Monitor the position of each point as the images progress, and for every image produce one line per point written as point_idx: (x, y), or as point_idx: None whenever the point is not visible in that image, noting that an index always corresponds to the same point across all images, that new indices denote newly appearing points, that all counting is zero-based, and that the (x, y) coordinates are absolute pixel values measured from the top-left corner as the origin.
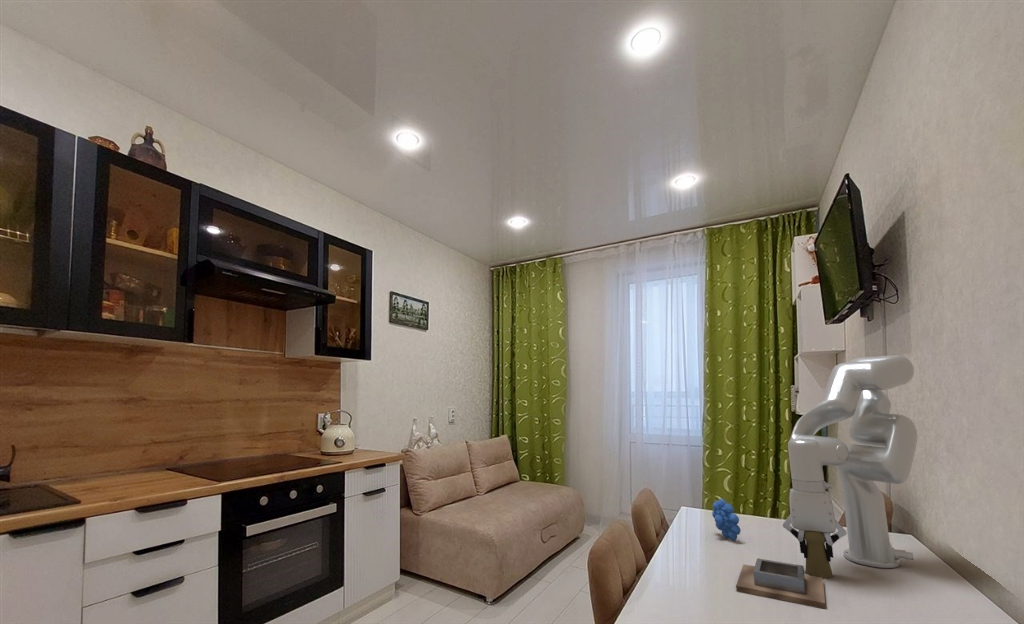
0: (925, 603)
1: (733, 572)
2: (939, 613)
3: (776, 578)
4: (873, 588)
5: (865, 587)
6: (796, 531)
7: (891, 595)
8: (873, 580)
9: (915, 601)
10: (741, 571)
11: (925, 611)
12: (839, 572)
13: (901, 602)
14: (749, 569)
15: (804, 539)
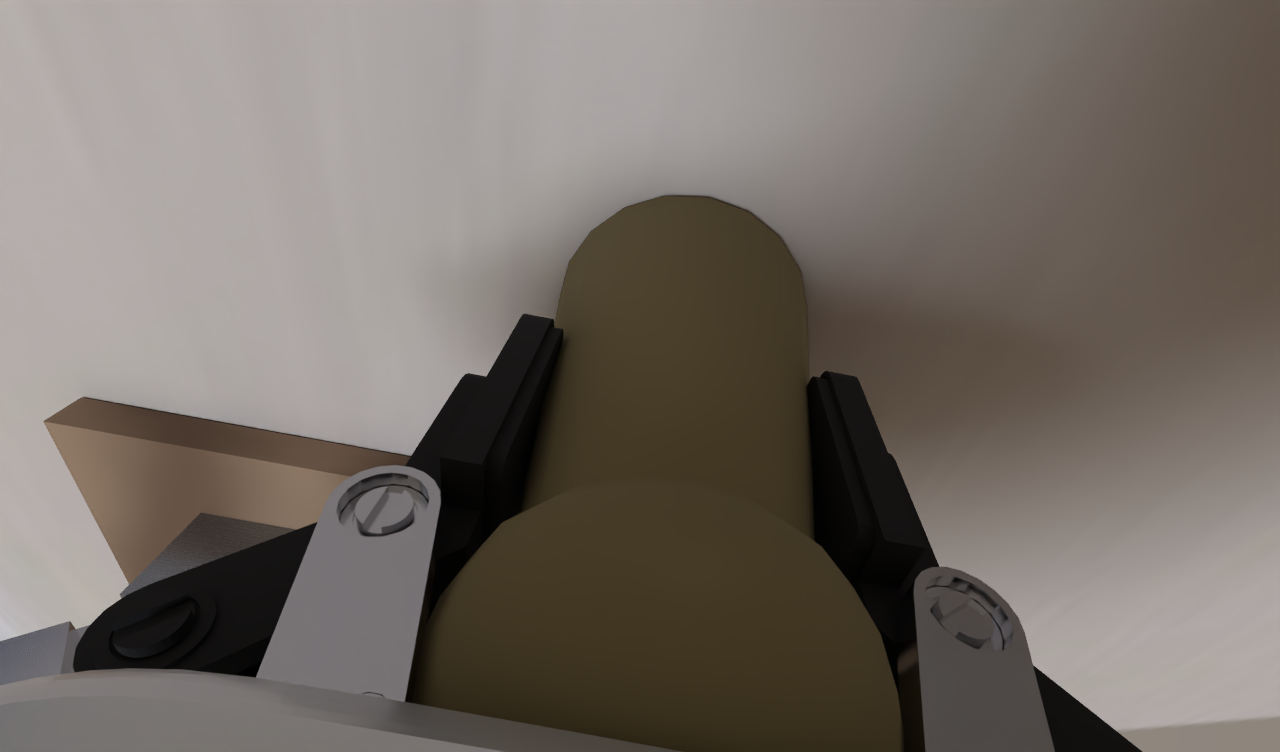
0: (1229, 635)
1: (63, 475)
2: (1180, 712)
3: None
4: (1027, 503)
5: (969, 500)
6: (253, 656)
7: (1078, 579)
8: (1185, 332)
9: (1181, 624)
10: (116, 551)
11: (1113, 706)
12: (929, 195)
13: (1060, 647)
14: (141, 510)
15: (480, 494)
